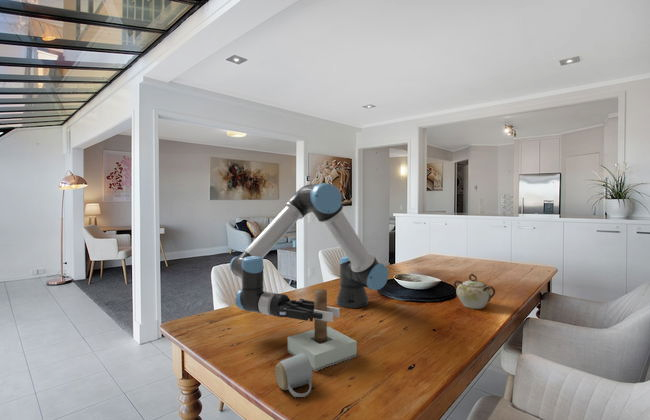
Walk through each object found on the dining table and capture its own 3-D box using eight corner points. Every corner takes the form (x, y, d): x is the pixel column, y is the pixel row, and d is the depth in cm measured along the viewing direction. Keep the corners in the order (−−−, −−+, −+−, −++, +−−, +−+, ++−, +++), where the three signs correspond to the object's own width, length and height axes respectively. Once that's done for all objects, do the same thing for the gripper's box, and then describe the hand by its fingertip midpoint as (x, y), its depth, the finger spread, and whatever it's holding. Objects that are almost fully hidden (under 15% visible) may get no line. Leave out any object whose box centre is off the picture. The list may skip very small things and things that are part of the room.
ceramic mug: (273, 383, 90) (273, 356, 90) (300, 374, 94) (299, 348, 94) (291, 404, 81) (291, 374, 81) (319, 393, 85) (319, 364, 85)
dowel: (312, 339, 107) (311, 290, 106) (322, 336, 109) (322, 288, 109) (319, 343, 104) (318, 293, 103) (329, 340, 106) (329, 291, 106)
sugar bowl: (445, 304, 157) (445, 272, 156) (462, 298, 166) (462, 268, 165) (486, 315, 141) (486, 280, 140) (502, 308, 150) (503, 275, 149)
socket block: (287, 351, 109) (287, 336, 108) (327, 339, 118) (326, 325, 118) (314, 372, 96) (314, 355, 95) (356, 356, 105) (356, 341, 105)
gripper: (288, 308, 122) (346, 318, 111) (259, 323, 107) (323, 336, 96) (288, 287, 122) (346, 296, 111) (259, 300, 107) (323, 311, 96)
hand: (335, 315), depth 104 cm, fingers closed on dowel, 4 cm apart
